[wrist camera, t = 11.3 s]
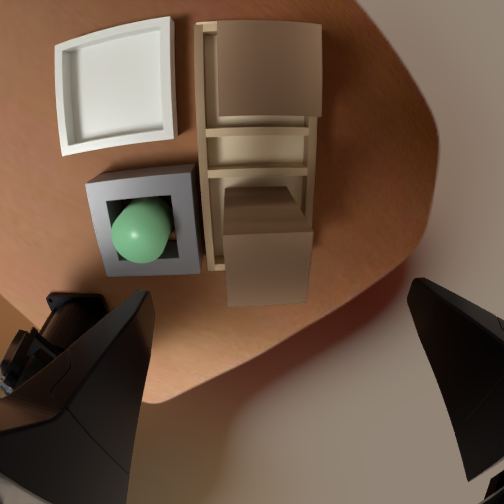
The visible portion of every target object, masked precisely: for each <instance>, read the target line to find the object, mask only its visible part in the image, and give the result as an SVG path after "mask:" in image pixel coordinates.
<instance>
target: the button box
mask: <svg viewBox="0 0 504 504" xmlns="http://www.w3.org/2000/svg"><path fill="white" fill-rule="evenodd" d="M85 186H86V191H87V197H88V202H89V206H90V211H91V216H92V220H93V225H94V229H95V233H96V237H97V241H98V245H99V249H100V253H101V256H102V260H103V264H104V267H105V271H106V274H107V277H124V276H156V275H184V274H201V267H202V260H203V250H202V240H201V230H200V220H199V208H198V197H197V184H196V171H195V164H184V165H172V166H161V167H151V168H141V169H133V170H124V171H117V172H109V173H102V174H99V175H97V176H96V177H94V178H93V179H92V180H90V181H89V182H87V183H86V184H85ZM164 195H171V199H172V207H173V216H174V223H175V231H176V238H177V241H176V242H167V243H166V246H165V249H164V251H163V253H162V254H161V255H160V256H159V257H158V258H157V259H156V260H154V261H152V262H148V263H135V262H132V261H129V260H127V259H126V258H124V257H123V256H122V255H120V254H119V252H118V251H117V250H116V248H115V247H114V245H113V242H112V238H111V229H112V226H113V223H114V222H115V220H116V219H117V218H118V216H119V215H120V214H121V213H122V207H121V202H120V199H130V198H140V197H152V196H164Z"/></svg>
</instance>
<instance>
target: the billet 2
mask: <svg viewBox="0 0 504 504" xmlns="http://www.w3.org/2000/svg"><path fill="white" fill-rule="evenodd" d="M313 233H314V232H313V230H312V228H311V227H310V225H309V223H308V221H307V220H306V218H305V216H304V215H303V213H302V211H301V210H300V208H299V206H298V205H297V203H296V201H295V200H294V198H293V196H292V195H291V193H290V192H289V190H288V188H287V187H286V186H276V187H239V188H225V193H224V216H223V247H224V263H225V277H226V291H227V305H228V308H229V307H250V306H268V305H284V304H298V303H306V301H307V292H308V283H309V274H310V265H311V255H312V244H313Z"/></svg>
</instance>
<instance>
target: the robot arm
mask: <svg viewBox="0 0 504 504" xmlns="http://www.w3.org/2000/svg"><path fill="white" fill-rule="evenodd" d="M51 299H52V300H51ZM46 300H47V302H48V305H49V307H50V309H51V311H52V312H51V313H50V315H49V317H48V318H47V320H46V322H45V323H44V325H43V327H42V328H41V330H40V332H39V333H38V330H36V329H35V328H34V327H32V328H31V330H30V331H29V332H28V331H23V330H19V331H18V332H17V334H16V336H15V337H14V339H13V340H12V342H11V344H10V345H9V347H8V349H7V351H6V353H5V355H4V357H3V359H2V361H1V363H0V369H1V377H0V379H1V381H0V390H2V391H3V392H4V393H3V396H2V398H0V504H126V500H127V492H128V483H129V474H130V467H131V460H132V453H133V446H134V440H135V434H136V428H137V423H138V417H139V411H140V406H141V401H142V396H143V391H144V386H145V381H146V376H147V372H148V367H149V362H150V357H151V348H152V338H153V329H154V321H155V310H154V306H153V302H152V298H151V294H150V292H149V291H148V290H137V291H135V292H134V293H133V294H132V295H130V296H129V297H128V298H127V299H126V300H124V301H123V302H122V303H121V304H119V305H118V306H117V307H116V308H115V309H113V310H112V311H111V312H110V313H109V310H108V308H107V305H106V302H105V299H104V297H103V296H102V295H99V294H49V295H48V296H47V298H46ZM99 300H100V301H99ZM407 303H408V306H409V309H410V312H411V315H412V318H413V321H414V324H415V327H416V330H417V333H418V336H419V338H420V341H421V343H422V345H423V348H424V350H425V353H426V355H427V357H428V360H429V362H430V365H431V367H432V370H433V372H434V375H435V378H436V380H437V383H438V385H439V388H440V391H441V394H442V396H443V399H444V402H445V405H446V408H447V411H448V414H449V417H450V420H451V423H452V426H453V429H454V432H455V436H456V439H457V443H458V447H459V450H460V454H461V457H462V461H463V465H464V469H465V473H466V478H467V480H468V482H469V481H471V480H473V479H474V478H476V477H478V476H479V475H481V474H483V473H484V472H486V471H488V470H489V469H491V468H492V467H494V466H495V465H497V464H498V463H500V462H501V461H503V460H504V320H502V319H501V318H498V317H496V316H495V315H493V314H492V313H490V312H488V311H486V310H485V309H482V308H481V307H479V306H477V305H475V304H474V303H472V302H470V301H468V300H466V299H464V298H462V297H461V296H459V295H457V294H455V293H453V292H451V291H449V290H447V289H445V288H444V287H442V286H440V285H437V284H436V283H434V282H432V281H430V280H428V279H426V278H415V279H414V280H413V281H412V284H411V287H410V290H409V293H408V296H407ZM479 504H504V470H503V471H502V472H500V473H499V474H497V475H496V476H494V477H493V478H491V480H490V484H489V486H488V489H487V492H486V495H485V498H484V500H483V501H482V502H480V503H479Z"/></svg>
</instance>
